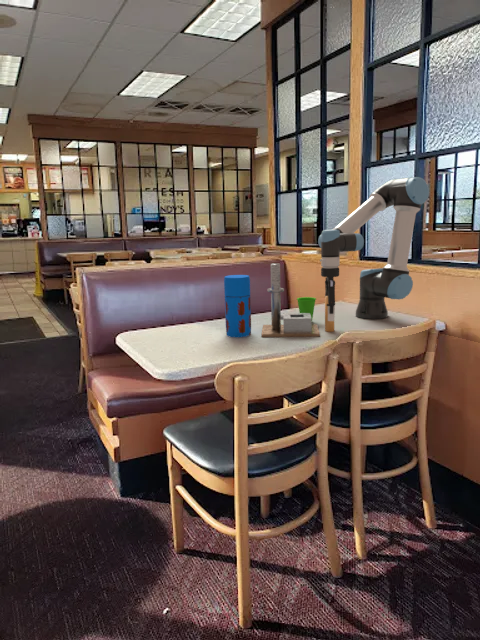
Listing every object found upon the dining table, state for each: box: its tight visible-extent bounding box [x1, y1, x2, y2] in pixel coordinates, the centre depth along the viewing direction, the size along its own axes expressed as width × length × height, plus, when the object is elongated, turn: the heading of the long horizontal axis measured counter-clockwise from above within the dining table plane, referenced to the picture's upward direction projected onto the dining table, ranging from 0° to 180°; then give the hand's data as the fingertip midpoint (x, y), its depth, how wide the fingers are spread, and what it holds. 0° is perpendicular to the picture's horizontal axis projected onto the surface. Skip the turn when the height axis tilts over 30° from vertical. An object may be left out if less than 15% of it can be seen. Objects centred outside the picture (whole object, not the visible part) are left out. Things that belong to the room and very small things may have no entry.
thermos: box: [223, 274, 252, 338], centre depth 206 cm, size 11×11×25 cm
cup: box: [296, 296, 317, 319], centre depth 228 cm, size 9×9×11 cm
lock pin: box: [324, 296, 336, 333], centre depth 208 cm, size 4×4×15 cm
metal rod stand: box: [261, 263, 321, 338], centre depth 208 cm, size 24×18×29 cm
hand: (329, 318), depth 209 cm, fingers open, 11 cm apart
